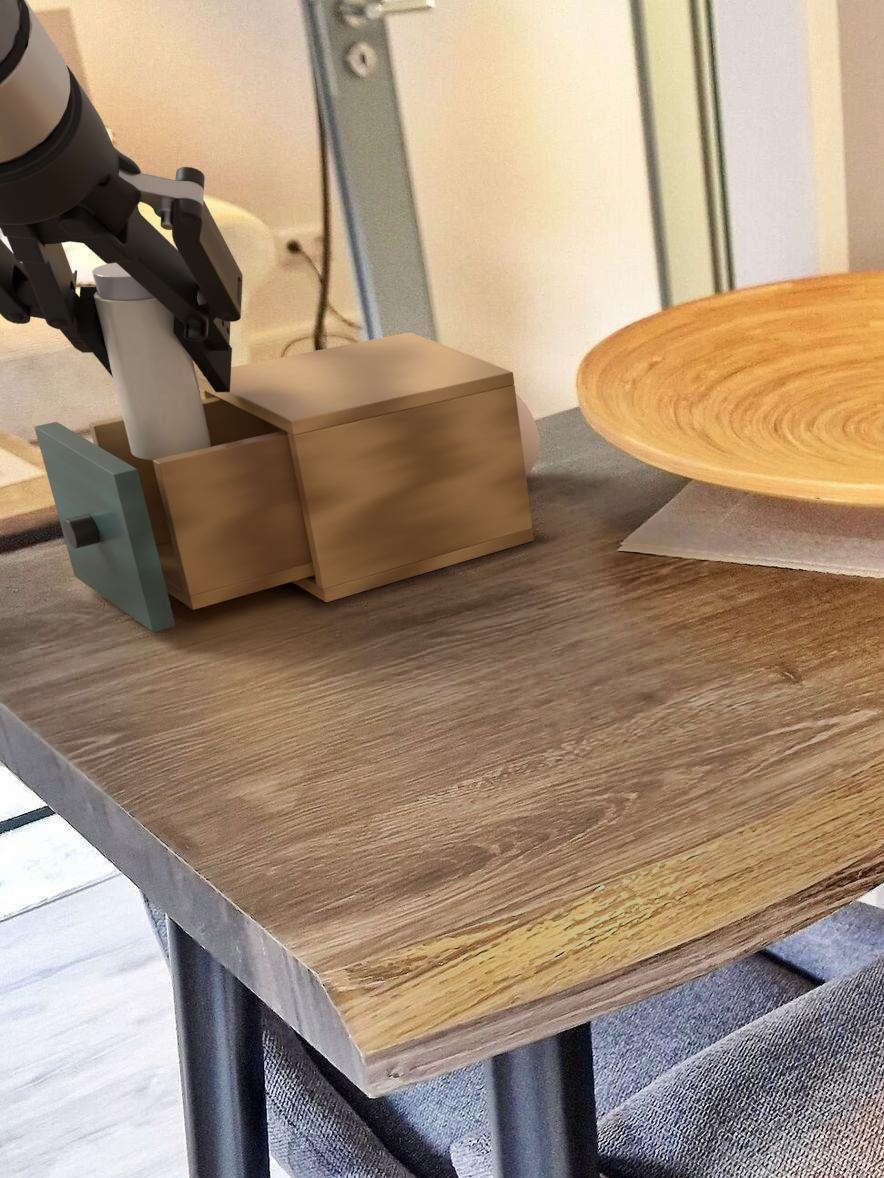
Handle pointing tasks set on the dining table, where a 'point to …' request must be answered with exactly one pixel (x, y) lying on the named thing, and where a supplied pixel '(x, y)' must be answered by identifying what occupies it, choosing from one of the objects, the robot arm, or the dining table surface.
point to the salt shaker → (149, 369)
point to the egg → (528, 435)
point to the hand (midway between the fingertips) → (178, 370)
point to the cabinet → (393, 456)
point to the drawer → (179, 514)
